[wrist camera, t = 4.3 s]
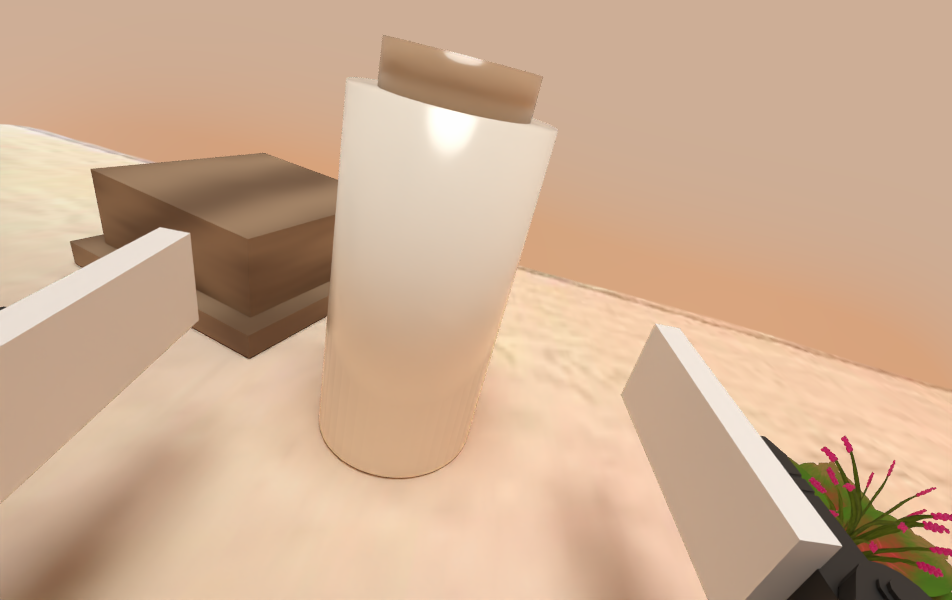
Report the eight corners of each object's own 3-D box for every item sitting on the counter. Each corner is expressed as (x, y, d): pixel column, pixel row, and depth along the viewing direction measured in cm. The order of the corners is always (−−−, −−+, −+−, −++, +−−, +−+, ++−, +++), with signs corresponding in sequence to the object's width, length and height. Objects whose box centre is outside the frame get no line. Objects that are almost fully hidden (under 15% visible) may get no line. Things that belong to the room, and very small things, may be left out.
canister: (283, 426, 16) (296, 11, 10) (379, 353, 21) (425, 48, 15) (422, 507, 15) (535, 71, 9) (490, 407, 20) (590, 90, 14)
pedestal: (75, 263, 23) (51, 164, 20) (266, 216, 33) (265, 147, 30) (249, 358, 19) (245, 254, 17) (402, 274, 29) (412, 201, 27)
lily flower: (1150, 772, 13) (1325, 705, 11) (815, 816, 10) (955, 740, 8) (824, 449, 23) (881, 382, 21) (618, 433, 21) (658, 355, 19)
